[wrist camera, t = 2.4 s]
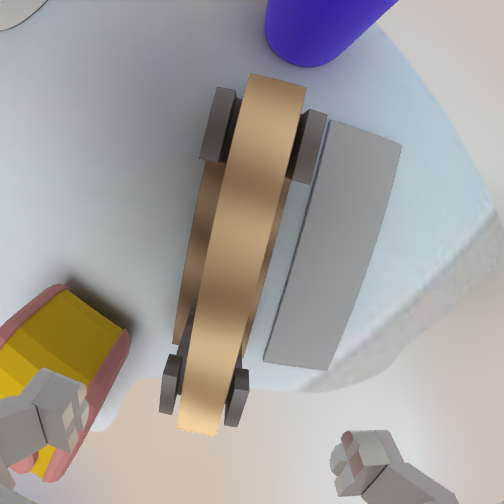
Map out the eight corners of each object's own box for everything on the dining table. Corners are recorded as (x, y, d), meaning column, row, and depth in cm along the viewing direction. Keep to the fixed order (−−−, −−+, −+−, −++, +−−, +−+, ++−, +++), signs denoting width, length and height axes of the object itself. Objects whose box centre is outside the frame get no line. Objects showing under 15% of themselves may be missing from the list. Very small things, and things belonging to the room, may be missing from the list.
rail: (248, 85, 17) (249, 73, 14) (296, 98, 17) (306, 87, 15) (181, 403, 24) (176, 429, 21) (217, 410, 24) (215, 436, 21)
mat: (329, 120, 29) (331, 119, 28) (398, 145, 29) (402, 145, 28) (262, 358, 36) (263, 361, 35) (325, 366, 36) (327, 370, 36)
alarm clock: (71, 264, 32) (-41, 353, 13) (147, 319, 34) (82, 450, 15) (35, 361, 36) (-33, 448, 17) (95, 403, 38) (48, 506, 19)
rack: (223, 98, 28) (208, 50, 14) (304, 117, 28) (351, 87, 15) (174, 336, 35) (145, 424, 21) (242, 351, 35) (244, 443, 22)
